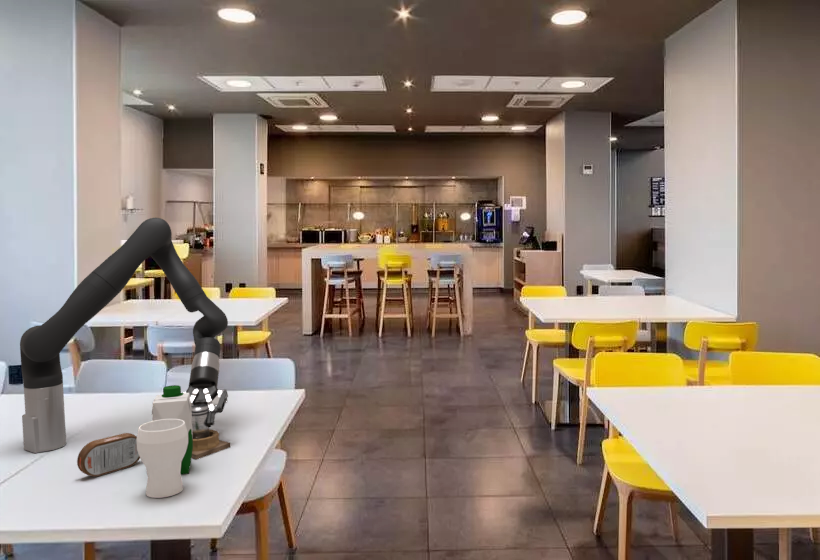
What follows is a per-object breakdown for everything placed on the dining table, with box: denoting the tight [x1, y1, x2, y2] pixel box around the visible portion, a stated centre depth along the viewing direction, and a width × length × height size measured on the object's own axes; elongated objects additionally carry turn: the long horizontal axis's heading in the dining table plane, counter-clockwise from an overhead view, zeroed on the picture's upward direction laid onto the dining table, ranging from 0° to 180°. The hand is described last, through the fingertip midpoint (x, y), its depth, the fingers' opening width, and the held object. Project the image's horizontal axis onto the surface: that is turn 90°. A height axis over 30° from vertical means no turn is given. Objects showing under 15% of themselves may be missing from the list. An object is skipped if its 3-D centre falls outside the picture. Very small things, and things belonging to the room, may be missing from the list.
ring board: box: [191, 428, 232, 460], centre depth 163 cm, size 11×11×4 cm
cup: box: [136, 419, 188, 499], centre depth 135 cm, size 11×11×15 cm
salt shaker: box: [191, 404, 211, 439], centre depth 163 cm, size 5×5×9 cm
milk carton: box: [151, 384, 193, 475], centre depth 148 cm, size 9×9×20 cm
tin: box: [76, 432, 141, 478], centre depth 148 cm, size 15×3×8 cm, turn 141°
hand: (198, 426), depth 161 cm, fingers closed on salt shaker, 5 cm apart
